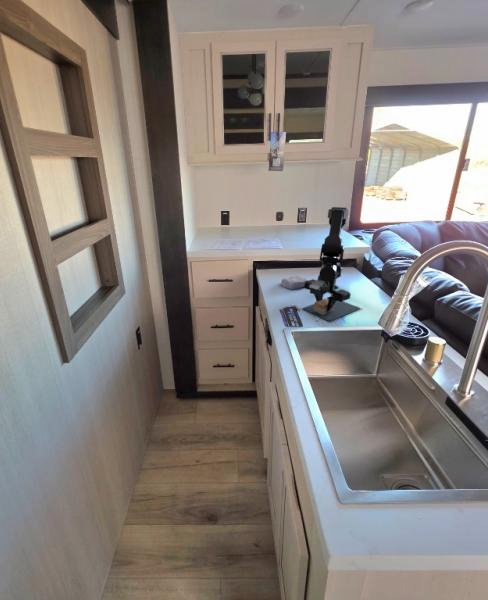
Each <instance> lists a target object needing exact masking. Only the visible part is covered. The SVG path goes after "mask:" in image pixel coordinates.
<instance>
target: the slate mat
mask: <svg viewBox="0 0 488 600" xmlns="http://www.w3.org/2000/svg"><path fill="white" fill-rule="evenodd" d="M302 310H304V311H306V312H307V313H310V314H312V315H315V316H317V317H318V318H321V319H323V320H325V321H328V322H332V321H335V320H337V319H339V318H342V317H344V316H347V315H349V314H351V313H354V312H356V311H359V310H361V308H360V307H358V306H355V305H353V304H351V303H348V302H346V301H342V302H339V301H336V302H335V304H334V308H333V311H331V312H329V313H326V314H323V315H321V314H319V313H317V312H315V311H314V304H311V305H308V306H305V307H302Z"/></svg>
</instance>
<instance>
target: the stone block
mask: <svg viewBox="0 0 488 600" xmlns="http://www.w3.org/2000/svg"><path fill="white" fill-rule="evenodd" d="M306 281H309V279H307V278H305V277H303V276H300V275H299V276H298V275H294V276H290V277H288V278H287V277H286V278H281V281H280V285H281V286H282V287H284V288H286V289H289V290H296V289H301V288H304V283H305V282H306Z"/></svg>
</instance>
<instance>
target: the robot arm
mask: <svg viewBox="0 0 488 600" xmlns="http://www.w3.org/2000/svg"><path fill="white" fill-rule="evenodd" d="M349 214H350V209H348V208H347V207H341V206H332V207H331V208H329V209H328V211H327V219H328V224H329V226H330V227H329V233H328V235H327V236H326V237H325V238H324V242H323V243H322V244H321V249H320V254H319V255H320V256H319V260H318V261H319V262H322V263H321V266H320V270H319V274H318V276H317V279H313V278H312V279H310V280H309V279H308V280H309V281H306V282H305V283H304V287H303V288H304V289H306V290H309V293H310V294H313V295H314V298H315V302H317V301H320V300H323V299H324V295H326V294H330V296H327V297H326V299H328V307H327V311H330V310H331V308H332V307H333V305H334V304H335V302H336V301H339V302H342V301H343V302H346V301H347V300H350V299H351V292H350V291H348V290H345V289H343V288H341V289H338V290H335V289H337V288H338V287H339V286H337V285H336V283H337V279H339V278H340V277H341V276H342V271H343V268H342V266H341V261H343V260H344V253H345V248H344V245H342V242H343V239H342V237H341V234H342V233H341V232H342V228H344V226H345V225H346V223H347V220H348V219H349V216H350V215H349Z"/></svg>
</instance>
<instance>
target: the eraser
mask: <svg viewBox="0 0 488 600" xmlns="http://www.w3.org/2000/svg"><path fill="white" fill-rule="evenodd" d="M327 307H328V299H327V298H323V299H322V300H320V301H314V311H315V312H317V313H319V314H321V315H323V314H326V313H329V312H331V311H333V308H334V305H333V307H332V308H331V310H330V311H327Z"/></svg>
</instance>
